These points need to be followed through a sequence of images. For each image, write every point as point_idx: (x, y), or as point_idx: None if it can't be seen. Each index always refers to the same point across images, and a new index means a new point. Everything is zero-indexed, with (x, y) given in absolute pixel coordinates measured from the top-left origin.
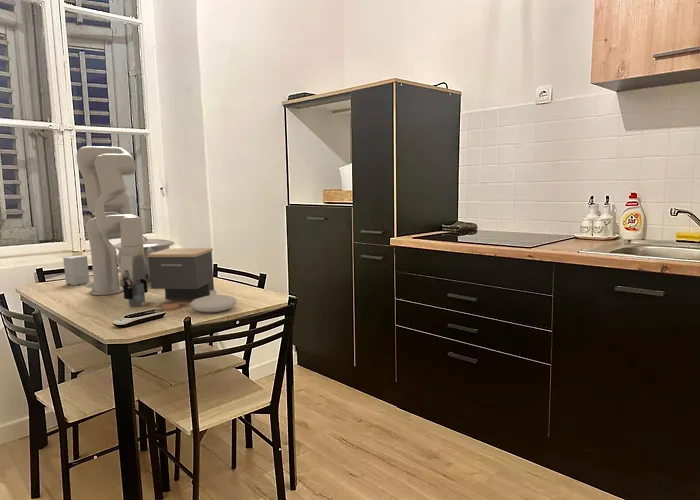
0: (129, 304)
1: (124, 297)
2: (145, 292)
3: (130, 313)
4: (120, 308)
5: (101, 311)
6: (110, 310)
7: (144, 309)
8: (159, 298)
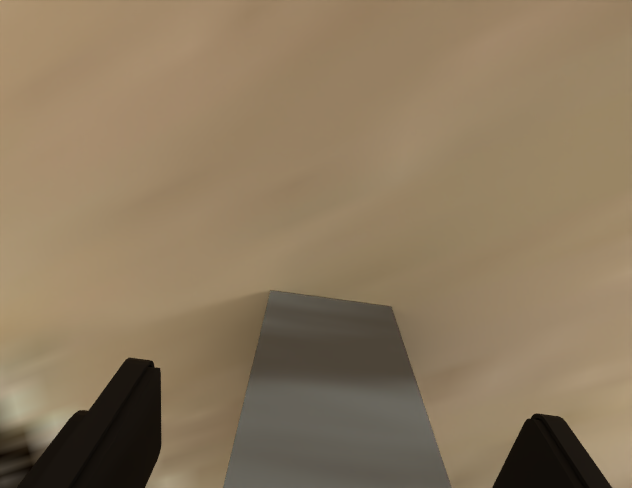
0: (266, 307)
1: (122, 371)
2: (494, 486)
3: (9, 397)
4: (189, 225)
5: (19, 36)
6: (86, 143)
7: (160, 453)
8: (595, 442)
